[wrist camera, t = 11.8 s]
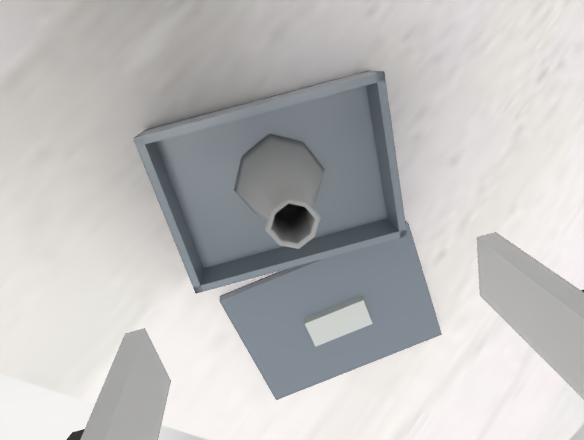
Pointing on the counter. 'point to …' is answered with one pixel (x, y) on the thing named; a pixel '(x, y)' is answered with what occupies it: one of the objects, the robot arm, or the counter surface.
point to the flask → (282, 188)
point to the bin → (244, 136)
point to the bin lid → (334, 314)
